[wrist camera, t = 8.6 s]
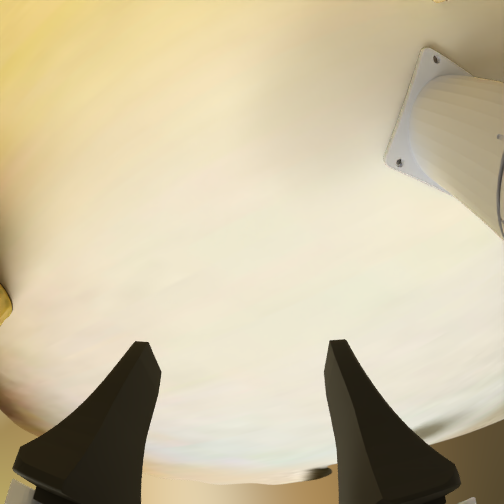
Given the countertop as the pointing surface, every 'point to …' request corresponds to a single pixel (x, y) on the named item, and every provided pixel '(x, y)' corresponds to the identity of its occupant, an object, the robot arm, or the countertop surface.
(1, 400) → the countertop surface
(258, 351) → the countertop surface
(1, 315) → the vase
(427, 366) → the countertop surface
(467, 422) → the countertop surface
